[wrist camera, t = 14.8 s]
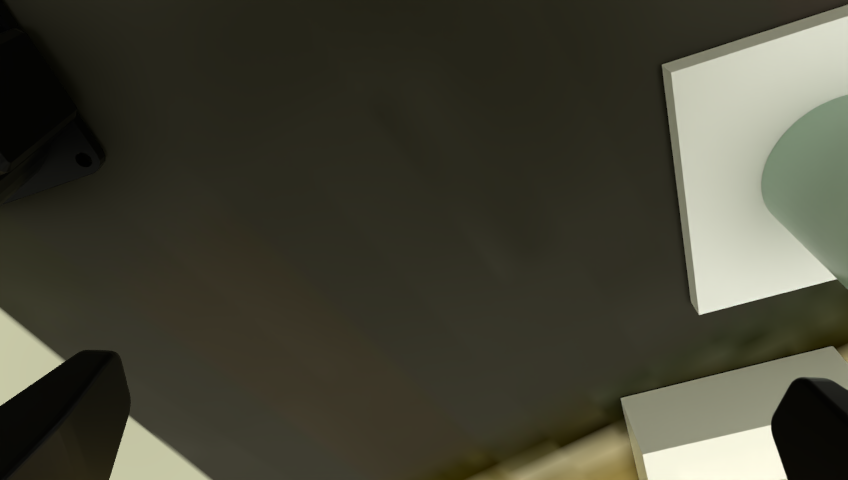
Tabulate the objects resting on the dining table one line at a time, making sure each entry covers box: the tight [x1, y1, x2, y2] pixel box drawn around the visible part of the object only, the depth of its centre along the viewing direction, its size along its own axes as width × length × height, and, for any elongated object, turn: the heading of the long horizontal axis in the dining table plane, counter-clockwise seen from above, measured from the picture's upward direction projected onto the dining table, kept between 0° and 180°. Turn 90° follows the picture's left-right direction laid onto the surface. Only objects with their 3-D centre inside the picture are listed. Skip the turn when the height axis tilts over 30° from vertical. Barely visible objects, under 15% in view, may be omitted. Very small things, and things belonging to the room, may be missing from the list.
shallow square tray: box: [620, 346, 848, 480], centre depth 28 cm, size 9×9×3 cm
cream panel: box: [662, 5, 848, 315], centre depth 21 cm, size 10×10×1 cm
